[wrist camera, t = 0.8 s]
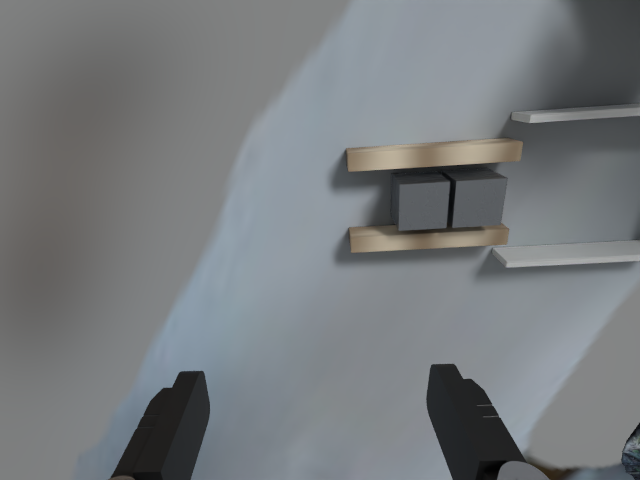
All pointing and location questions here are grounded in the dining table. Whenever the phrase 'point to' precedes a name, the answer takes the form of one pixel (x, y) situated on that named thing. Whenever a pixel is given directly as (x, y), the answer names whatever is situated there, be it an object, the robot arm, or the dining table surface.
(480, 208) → the dark gray cube
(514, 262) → the tray
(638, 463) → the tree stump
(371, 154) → the slotted rail
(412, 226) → the dark gray rectangular block
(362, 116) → the dining table surface
